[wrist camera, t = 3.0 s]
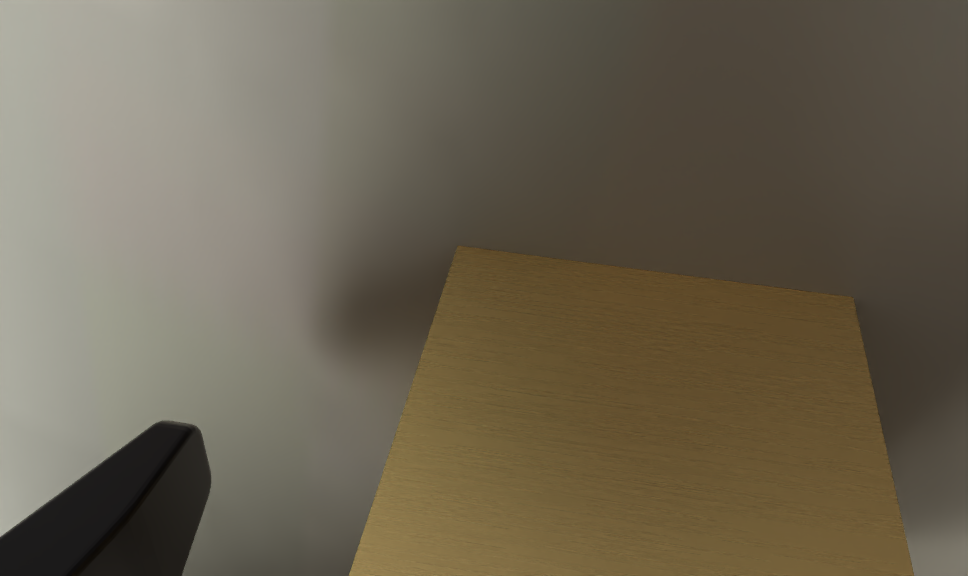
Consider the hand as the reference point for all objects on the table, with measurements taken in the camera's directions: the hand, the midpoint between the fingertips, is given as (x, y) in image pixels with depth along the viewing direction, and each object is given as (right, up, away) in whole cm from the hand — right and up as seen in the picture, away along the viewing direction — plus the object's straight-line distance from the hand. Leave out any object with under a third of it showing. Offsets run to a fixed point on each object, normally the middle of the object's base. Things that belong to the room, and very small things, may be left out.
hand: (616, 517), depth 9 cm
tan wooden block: (0, +1, +1) cm, 2 cm away
